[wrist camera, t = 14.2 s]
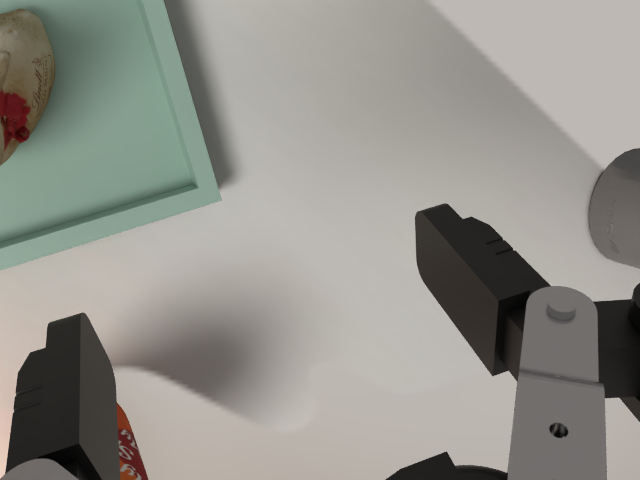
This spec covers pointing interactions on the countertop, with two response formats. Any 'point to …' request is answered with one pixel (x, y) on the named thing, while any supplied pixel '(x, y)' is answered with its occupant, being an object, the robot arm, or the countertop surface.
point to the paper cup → (128, 451)
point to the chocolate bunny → (23, 77)
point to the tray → (104, 132)
